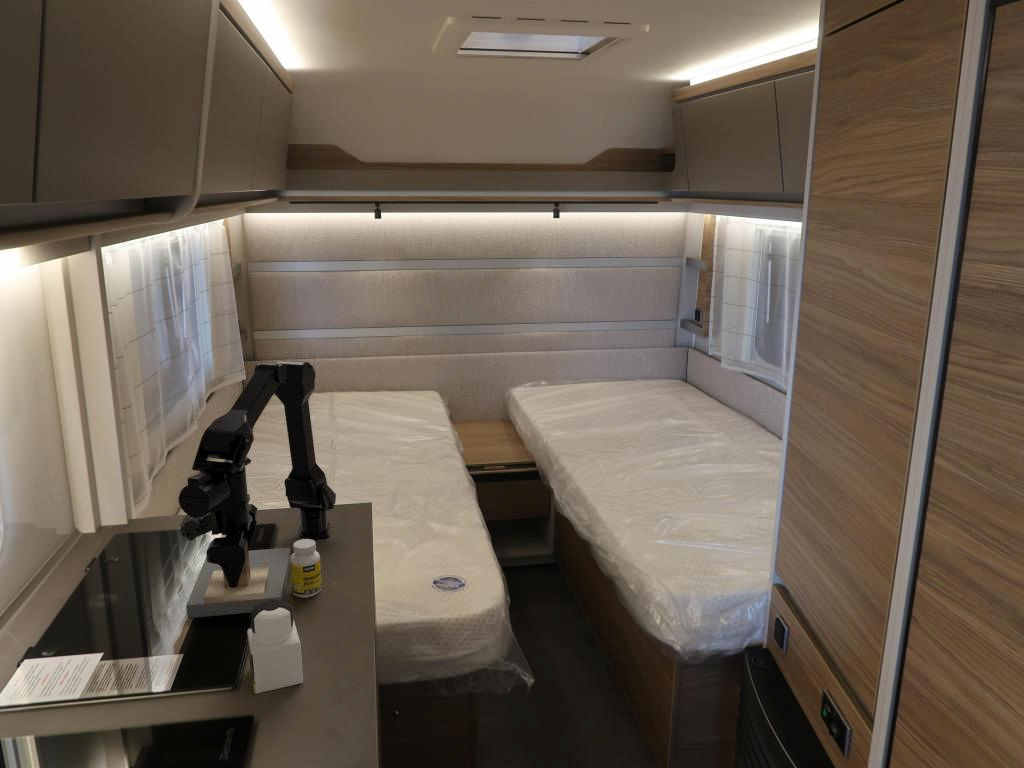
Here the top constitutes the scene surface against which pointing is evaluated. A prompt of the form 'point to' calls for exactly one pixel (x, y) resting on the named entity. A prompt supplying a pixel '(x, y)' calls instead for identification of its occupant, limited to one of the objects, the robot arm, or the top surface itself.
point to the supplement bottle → (305, 569)
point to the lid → (247, 588)
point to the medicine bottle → (274, 647)
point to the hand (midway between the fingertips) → (237, 574)
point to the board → (274, 591)
